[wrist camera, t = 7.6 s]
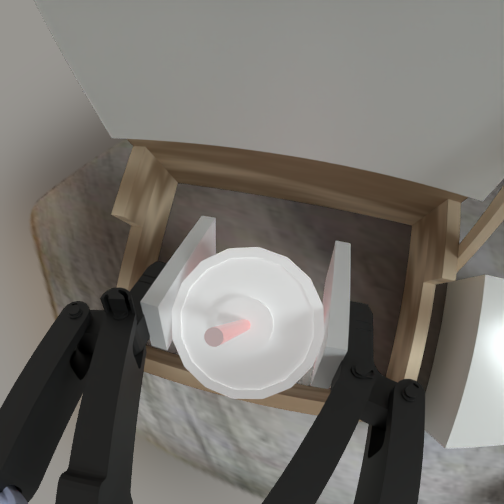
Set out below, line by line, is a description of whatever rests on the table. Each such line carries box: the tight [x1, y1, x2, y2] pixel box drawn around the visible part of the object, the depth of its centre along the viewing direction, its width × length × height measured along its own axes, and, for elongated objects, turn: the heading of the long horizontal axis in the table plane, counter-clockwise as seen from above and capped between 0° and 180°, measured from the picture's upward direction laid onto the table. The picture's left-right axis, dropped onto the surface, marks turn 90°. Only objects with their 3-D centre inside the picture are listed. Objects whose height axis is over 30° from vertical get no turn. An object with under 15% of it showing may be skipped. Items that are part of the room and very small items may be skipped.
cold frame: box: [111, 139, 468, 422], centre depth 20 cm, size 16×22×9 cm
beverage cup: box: [172, 247, 324, 399], centre depth 14 cm, size 6×6×14 cm
